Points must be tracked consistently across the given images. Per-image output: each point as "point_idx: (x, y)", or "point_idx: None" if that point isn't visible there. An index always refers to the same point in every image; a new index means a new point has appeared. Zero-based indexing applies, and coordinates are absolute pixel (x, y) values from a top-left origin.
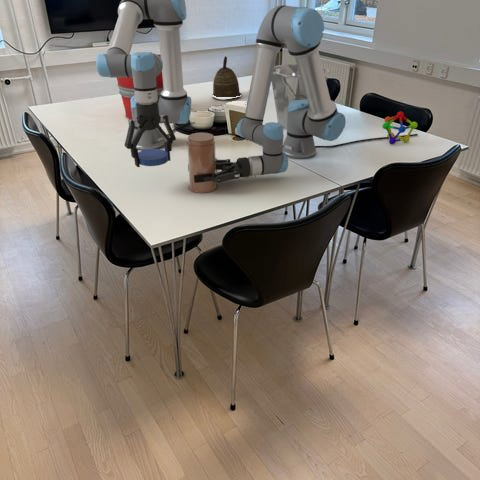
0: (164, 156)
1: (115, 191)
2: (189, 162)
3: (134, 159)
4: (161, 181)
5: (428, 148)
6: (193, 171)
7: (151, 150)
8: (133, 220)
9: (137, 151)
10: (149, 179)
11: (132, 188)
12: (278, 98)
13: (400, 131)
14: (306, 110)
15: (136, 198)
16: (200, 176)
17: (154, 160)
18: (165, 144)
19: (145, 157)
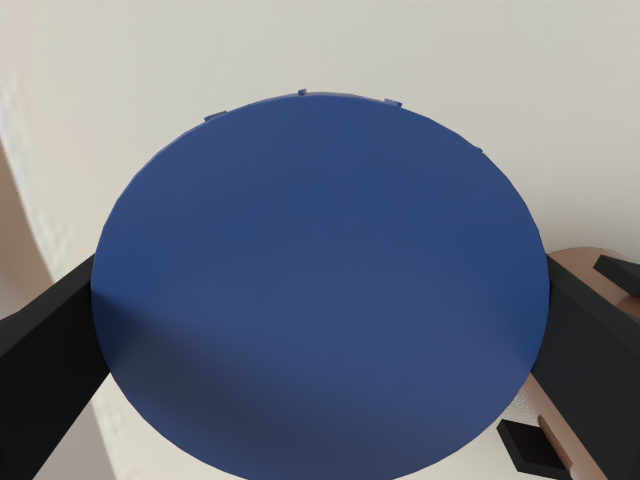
0: (416, 464)
1: (55, 89)
2: (597, 467)
3: (80, 266)
4: (405, 103)
5: None
6: (555, 445)
7: (380, 186)
8: (109, 435)
9: (35, 460)
10: (345, 11)
11: (179, 106)
12: None
13: None
14: None
15: None
16: (552, 472)
17: (273, 474)
18: (618, 398)
19: (196, 392)
